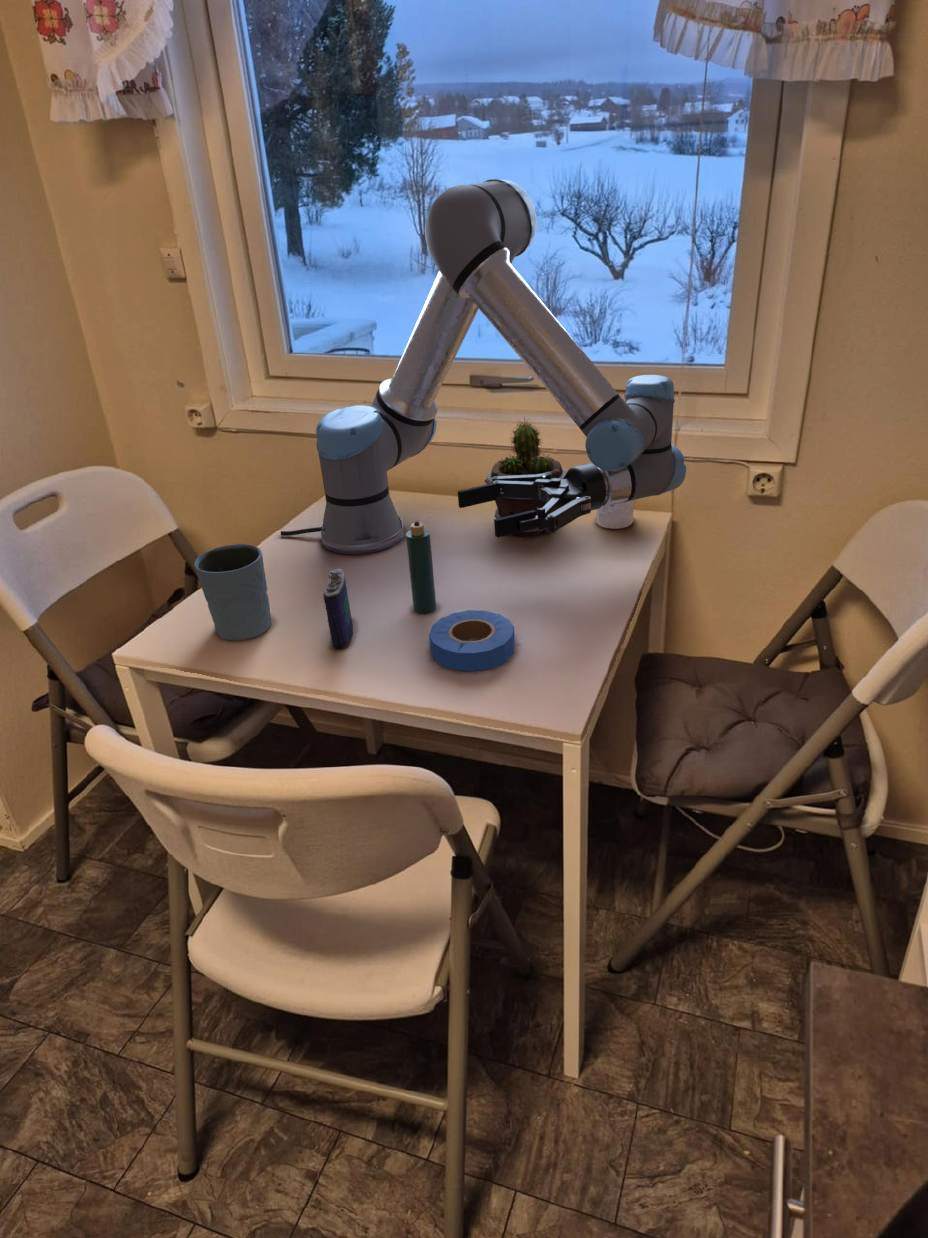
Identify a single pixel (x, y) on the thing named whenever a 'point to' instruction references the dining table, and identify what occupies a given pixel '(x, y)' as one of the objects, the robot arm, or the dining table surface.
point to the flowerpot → (524, 472)
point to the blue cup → (235, 590)
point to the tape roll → (472, 654)
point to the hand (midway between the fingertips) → (476, 513)
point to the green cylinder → (421, 569)
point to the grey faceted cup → (616, 515)
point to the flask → (338, 610)
